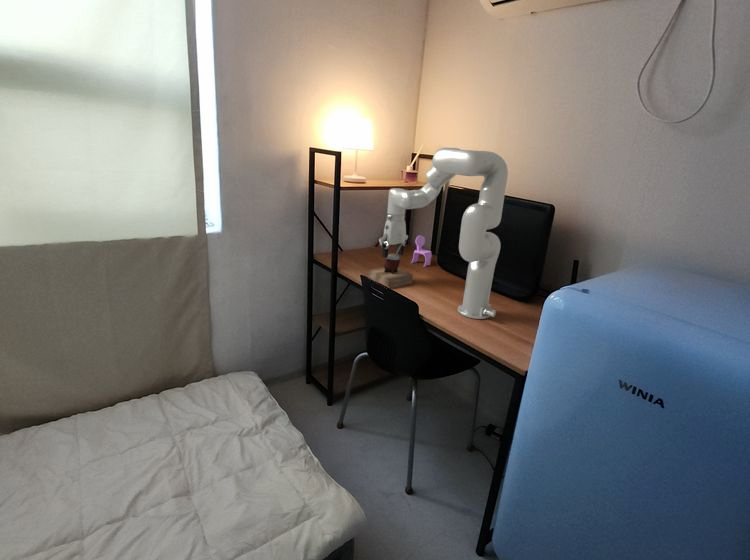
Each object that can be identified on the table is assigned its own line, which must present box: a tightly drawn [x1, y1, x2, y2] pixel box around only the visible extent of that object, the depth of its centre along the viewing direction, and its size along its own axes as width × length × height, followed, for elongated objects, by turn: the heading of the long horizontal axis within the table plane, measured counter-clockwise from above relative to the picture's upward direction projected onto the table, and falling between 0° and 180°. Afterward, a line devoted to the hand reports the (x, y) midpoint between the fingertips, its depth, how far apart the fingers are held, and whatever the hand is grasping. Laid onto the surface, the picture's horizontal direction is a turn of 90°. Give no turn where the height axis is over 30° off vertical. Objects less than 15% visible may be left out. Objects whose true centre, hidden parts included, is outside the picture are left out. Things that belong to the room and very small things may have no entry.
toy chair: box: [410, 234, 433, 268], centre depth 215 cm, size 8×9×15 cm
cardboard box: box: [368, 266, 413, 289], centre depth 186 cm, size 14×14×5 cm
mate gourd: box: [383, 242, 407, 274], centre depth 183 cm, size 8×8×15 cm
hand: (392, 255), depth 183 cm, fingers open, 9 cm apart
